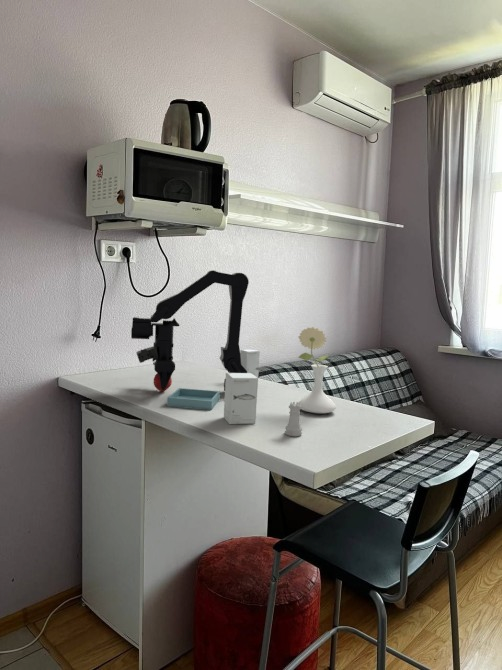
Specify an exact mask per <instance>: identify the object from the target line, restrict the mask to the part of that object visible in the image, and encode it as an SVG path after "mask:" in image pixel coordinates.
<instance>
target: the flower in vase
mask: <svg viewBox="0 0 502 670" xmlns="http://www.w3.org/2000/svg"><path fill="white" fill-rule="evenodd" d="M298 339H299V342H300V344H301V346H303V347H304V348H308V349H310V353H308V352H303V353H301V354H300V355H299V356H298V358H299V359H302V360H305V361H310V360H311V359H313V361H314V363H315V364H311V365H310V367H311V368H312V370H313V374H314V385H313V389H312V390H311V391H310V393H309V392H308V394H306V395H305V396H304V397H302V398H301V399H300V400H299V401H298V404H299V403H300V406H301V407H302V408H301V409H300V410H302V411H304V412H308V413H311V414H330V413H332V412H335V410H336V409H337V407H336V404H335V402H334V401H333V400H332V399H331V398H330V397H328V396H327V394H326V393H325V392H324V391H323V378H324V375H325V372H326V371H327V370H328V367H329V366H328V365H324V364H319V363H318V362H322V361H324V360H326V359H328V357H329V354H327V355H324V356H320V357H319V358H318V359H317V360H316V359H315V357H314V355H313V354H314V353H313V350H315V349H320V348H323V347H324V345H325V343H326V342H327V340H326V339H327V338H326V335H325V333H324V331H323V330H319V328H318V327H317V328H315V327H314V326H312V327H307V328H304V329H302V330H301V331H300V333H299V336H298Z"/></svg>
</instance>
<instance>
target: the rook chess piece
mask: <svg viewBox="0 0 502 670" xmlns="http://www.w3.org/2000/svg"><path fill="white" fill-rule="evenodd" d="M298 402H299V401H298ZM298 402H295V401H291V402H290V404H289V406H288V408H289V418H288V419H289V420H288V422H287V425H286V426H285V428H284V429H285V430H284V434H286V436H287V437H296V438H297V437H301V436H302V434H303V432H302V431H303V428H302V426H301V425H302V424H301V422H300V414H301V412H300V410H302V409H301V408H302V407H301V406H300V403H299V404H298Z"/></svg>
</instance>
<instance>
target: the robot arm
mask: <svg viewBox="0 0 502 670" xmlns="http://www.w3.org/2000/svg"><path fill="white" fill-rule="evenodd" d="M213 284H219V285H220V284H221V285H225V286H228V293H229V298H230V300H229V301H230V303H229V313H228V314H229V315H228V325H227V334H226V335H227V336H226V337H227V338H226V343H225V346H220V356H219V360H220V361H221V364H222V366H223V367H224V368H225V370H226V371H227V373H247V370H246V369H245V368H244V367H243V366H242V365H241V355H240V350H241V349H240V337H241V323H242V315H243V303H244V299H245V297H246V294H247V291H248V287H249V277H248V276H247V274H245V273H242V272H234V273H232V274H230V273H225V272H220V271H216V270H209V271H207V272H206V274H204V275H203V276H201V277H200V278H199V279H197V280H195V281H194V282H193V283H191V284H189V285H188V286H186V287H185V288H183V289H182V290H180V291H179V292H178V293H176V294H174V295H171V296H169V297H167V298H165V299H162V300H160V301H158V303H157V304H156V306H155V312H154V313H153V314H152V315H151V316H150V318H146V317H144V318H143V317H138V316H137V317H136V316H135V317H132V324H131V329H130V330H131V335H130V336H131V339H132V340H133V339H135V340H150V338H151V337H154V342H153V346H149V347H147V348H145V347H144V348H143V349H141V348H140V350H138V351H136V355H137V359H138V361H139V362H138V363H139V364H140V363H141V364H142V363H144V362H146V361H150V360H152V364H153V366H154V371H155V372H156V374H157V373H158V374H159V378H160V384H161V390H165V388H166V386H167V384H168V382H169V380H170V378H171V379H172V376H173V373H174V371H176V363H175V362H174V361H173V360H174V356H173V354H174V353H173V350H174V349H173V348H174V327H180V323H179V322H178V321H177V319H176V318H175V317H173V316H174V315H175V314H176V313H177V312H178V311H179V310H180V309H181V308H182V307H183V306H184V305H185V304H186V303H188V302H189V301H190V300H191V299H193V298H194V297H196V296H197V295H198V294H200V293H202V292H203V291H204V290H207V289H208V288H209V287H210V286H212V285H213ZM172 317H173V319H172V320H168V319H171V318H172ZM161 320H162V322H159V321H161ZM154 326H155V328H154ZM223 381H224V382H223V383H224V384H223V391H224V395H225V381H226V377H225V378H224V380H223ZM165 391H166V390H165Z"/></svg>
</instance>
